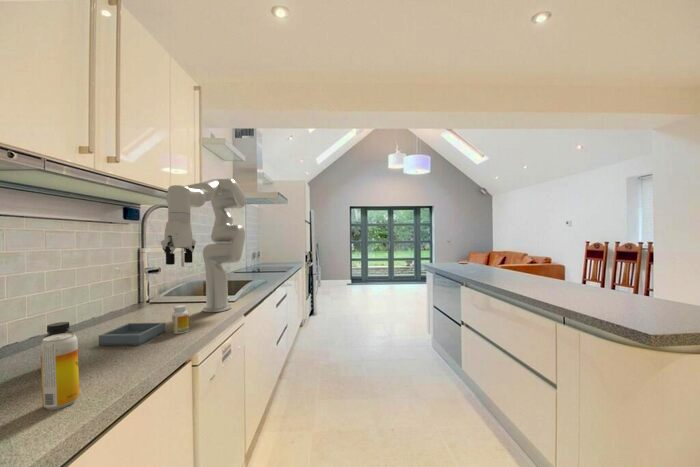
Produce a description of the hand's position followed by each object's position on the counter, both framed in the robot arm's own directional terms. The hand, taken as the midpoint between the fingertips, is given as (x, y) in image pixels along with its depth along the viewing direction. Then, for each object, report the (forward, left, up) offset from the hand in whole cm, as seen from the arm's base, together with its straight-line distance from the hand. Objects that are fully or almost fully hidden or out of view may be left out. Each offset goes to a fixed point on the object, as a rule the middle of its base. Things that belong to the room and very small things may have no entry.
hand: (179, 263), depth 120 cm
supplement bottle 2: (+1, 0, -26) cm, 26 cm away
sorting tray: (+8, -13, -26) cm, 30 cm away
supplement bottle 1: (+30, -19, -26) cm, 44 cm away
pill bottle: (+50, +1, -26) cm, 56 cm away
